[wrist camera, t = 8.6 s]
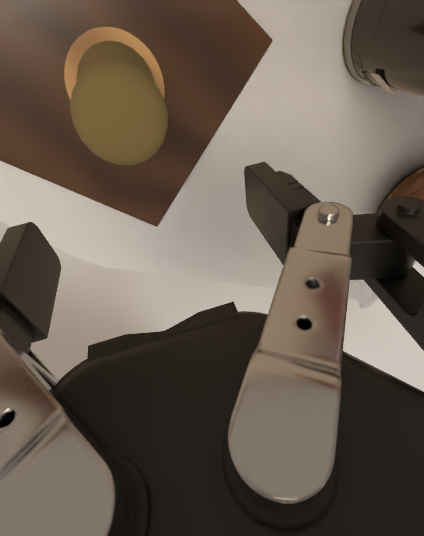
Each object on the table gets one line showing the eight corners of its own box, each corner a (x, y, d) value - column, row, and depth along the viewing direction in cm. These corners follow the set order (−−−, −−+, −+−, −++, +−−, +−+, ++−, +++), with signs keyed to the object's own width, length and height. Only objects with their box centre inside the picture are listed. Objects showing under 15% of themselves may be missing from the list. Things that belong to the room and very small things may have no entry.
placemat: (25, -232, 14) (24, -234, 14) (271, 40, 24) (272, 40, 23) (-48, 139, 22) (-49, 139, 22) (156, 225, 32) (156, 226, 32)
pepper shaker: (66, 104, 23) (42, 150, 15) (91, 19, 20) (79, 18, 12) (138, 141, 26) (151, 196, 18) (168, 73, 23) (199, 100, 15)
